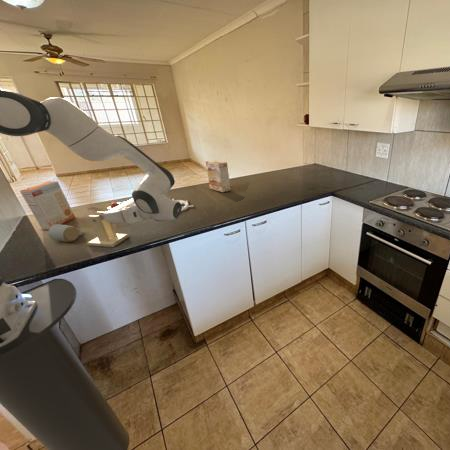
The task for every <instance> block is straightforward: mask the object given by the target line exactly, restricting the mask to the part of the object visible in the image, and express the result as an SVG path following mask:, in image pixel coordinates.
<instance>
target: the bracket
mask: <svg viewBox="0 0 450 450" xmlns="http://www.w3.org/2000/svg"><path fill="white" fill-rule="evenodd" d="M104 212H105V211H99V210H98V211H96V215H94V214H90V215H88V219H89V222H90V223H91V225H92V227H93V230H94V232H95V234H96V237H94V238H93V239H91V240H90V241H88V242H87V244H88V246H92V247H105V248H106V247H107V248H114V247H116V246H117V245H119V244H120V243H122V242H124V241H125V240H126V239H128V238H129V234H127V233H116V229H115V227H114V225H113V223H112V222H107V221H106V220H105V218H104V219H102V220H101V218H100V216H97V215H98V214H100V213H102V214H103V213H104Z"/></svg>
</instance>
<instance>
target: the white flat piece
mask: <svg viewBox="0 0 450 450" xmlns="http://www.w3.org/2000/svg"><path fill="white" fill-rule="evenodd" d="M171 200H175V201H178V202H180V204H181V212H183V211H186V210H188V208H195V206H194V205H193V204H192V205H190V204H189V200H182V199H175V198H172V199H171Z"/></svg>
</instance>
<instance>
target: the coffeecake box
mask: <svg viewBox="0 0 450 450" xmlns="http://www.w3.org/2000/svg"><path fill="white" fill-rule="evenodd" d="M205 166H206V172H207V178H208V185H209V190H213V191H216V192H221V193H225V192H229V191H231V183H230V182H231V181H230V174H229V166H228V162H227V161H222V160H216V159H211V160H206V161H205Z"/></svg>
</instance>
